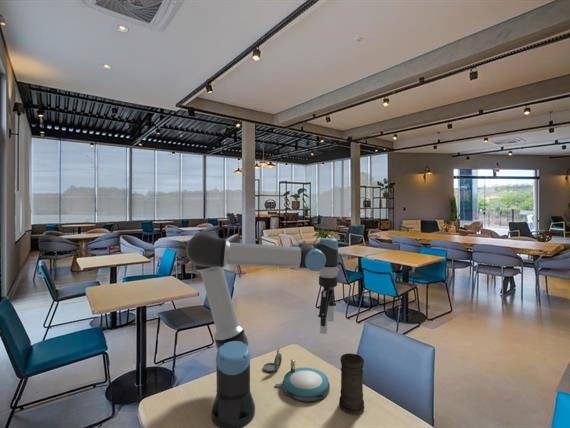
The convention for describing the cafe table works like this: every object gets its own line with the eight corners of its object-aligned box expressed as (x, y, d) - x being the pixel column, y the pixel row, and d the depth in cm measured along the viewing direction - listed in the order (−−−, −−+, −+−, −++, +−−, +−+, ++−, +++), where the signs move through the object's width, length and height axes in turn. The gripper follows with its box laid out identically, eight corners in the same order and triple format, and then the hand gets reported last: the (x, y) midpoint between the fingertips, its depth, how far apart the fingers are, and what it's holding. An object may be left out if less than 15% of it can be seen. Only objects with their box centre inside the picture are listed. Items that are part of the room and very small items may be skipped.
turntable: (337, 385, 123) (338, 370, 123) (304, 403, 112) (305, 387, 111) (306, 366, 137) (306, 353, 137) (274, 381, 125) (274, 366, 125)
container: (365, 416, 107) (365, 366, 107) (338, 413, 109) (339, 363, 108) (363, 400, 116) (364, 353, 116) (339, 397, 118) (340, 351, 117)
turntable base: (272, 400, 116) (272, 396, 116) (278, 372, 135) (278, 369, 135) (330, 404, 114) (330, 400, 114) (328, 375, 133) (328, 372, 133)
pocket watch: (262, 365, 141) (262, 344, 140) (280, 363, 142) (280, 342, 142) (264, 375, 133) (264, 352, 132) (283, 373, 134) (283, 351, 134)
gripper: (331, 284, 114) (330, 340, 114) (342, 270, 137) (341, 317, 138) (311, 282, 116) (310, 337, 117) (325, 269, 140) (324, 315, 140)
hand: (327, 327), depth 127 cm, fingers open, 13 cm apart
